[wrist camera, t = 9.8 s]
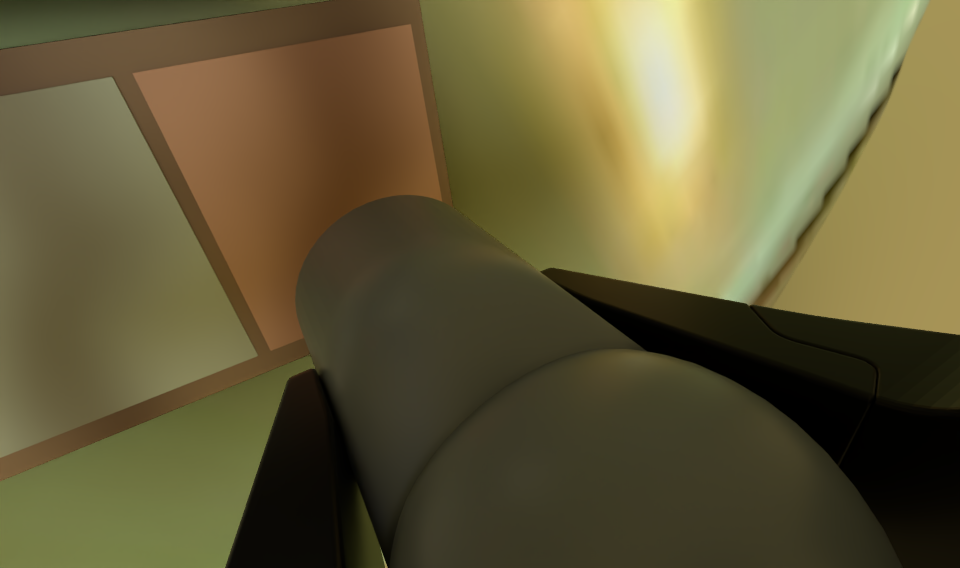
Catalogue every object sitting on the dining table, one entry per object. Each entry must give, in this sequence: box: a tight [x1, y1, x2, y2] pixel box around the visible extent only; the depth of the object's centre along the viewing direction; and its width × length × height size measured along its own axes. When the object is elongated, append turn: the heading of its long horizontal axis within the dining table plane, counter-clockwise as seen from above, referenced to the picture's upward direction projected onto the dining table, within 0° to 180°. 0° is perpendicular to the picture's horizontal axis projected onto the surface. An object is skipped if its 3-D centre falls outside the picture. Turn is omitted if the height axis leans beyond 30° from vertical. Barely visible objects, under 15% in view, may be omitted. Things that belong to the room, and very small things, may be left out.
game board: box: [0, 0, 453, 481], centre depth 12 cm, size 22×10×1 cm, turn 98°
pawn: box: [295, 195, 903, 568], centre depth 6 cm, size 5×5×9 cm
